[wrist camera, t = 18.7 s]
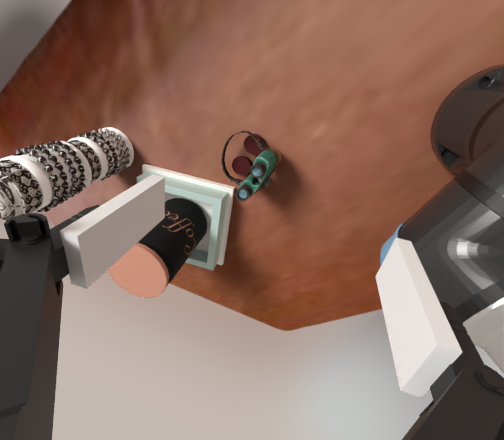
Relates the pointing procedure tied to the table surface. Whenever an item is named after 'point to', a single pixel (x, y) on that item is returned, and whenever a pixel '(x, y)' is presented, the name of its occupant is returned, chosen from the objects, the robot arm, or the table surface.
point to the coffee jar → (161, 250)
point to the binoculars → (253, 166)
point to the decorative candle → (60, 170)
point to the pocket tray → (211, 203)
